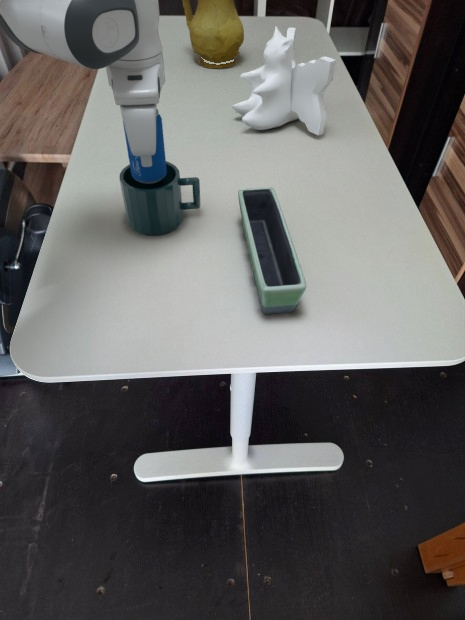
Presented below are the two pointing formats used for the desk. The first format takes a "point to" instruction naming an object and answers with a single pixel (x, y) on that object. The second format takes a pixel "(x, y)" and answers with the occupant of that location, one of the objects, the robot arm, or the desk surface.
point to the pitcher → (215, 31)
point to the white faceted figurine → (286, 88)
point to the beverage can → (158, 159)
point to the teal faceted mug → (157, 201)
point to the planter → (271, 251)
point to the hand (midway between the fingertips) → (146, 153)
